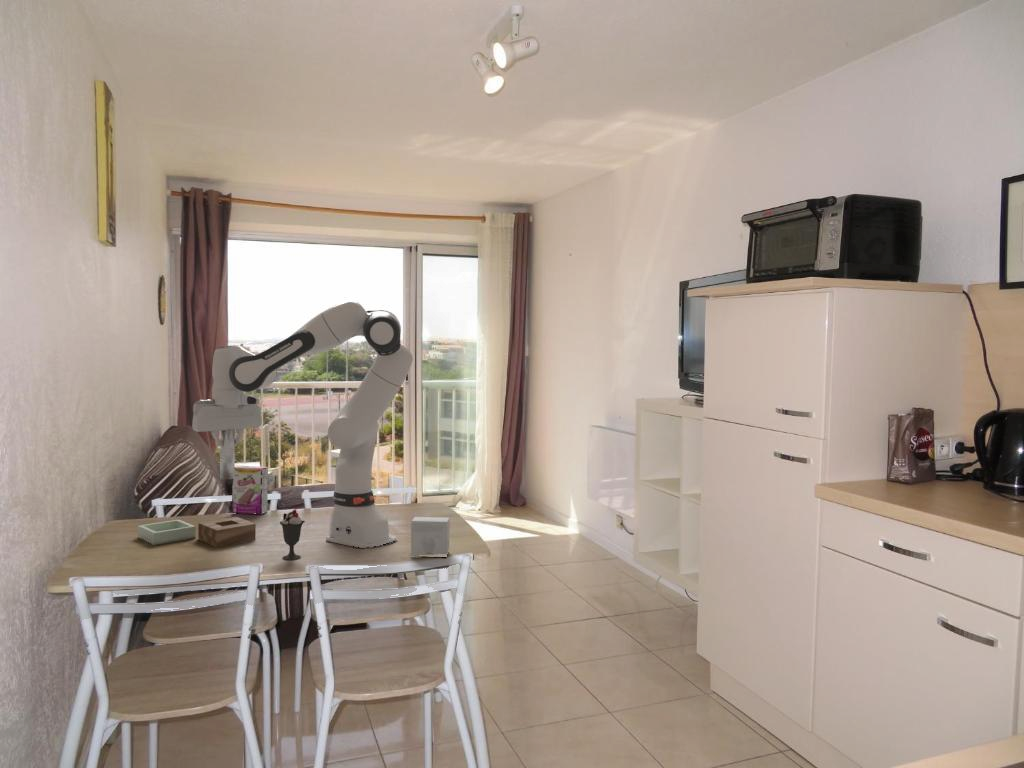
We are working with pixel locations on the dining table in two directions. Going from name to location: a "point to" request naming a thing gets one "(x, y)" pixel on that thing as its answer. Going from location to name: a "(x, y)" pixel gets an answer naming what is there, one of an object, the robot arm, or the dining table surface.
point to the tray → (166, 532)
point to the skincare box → (429, 535)
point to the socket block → (226, 531)
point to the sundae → (291, 532)
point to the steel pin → (227, 454)
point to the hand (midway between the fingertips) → (227, 444)
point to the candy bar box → (250, 490)
